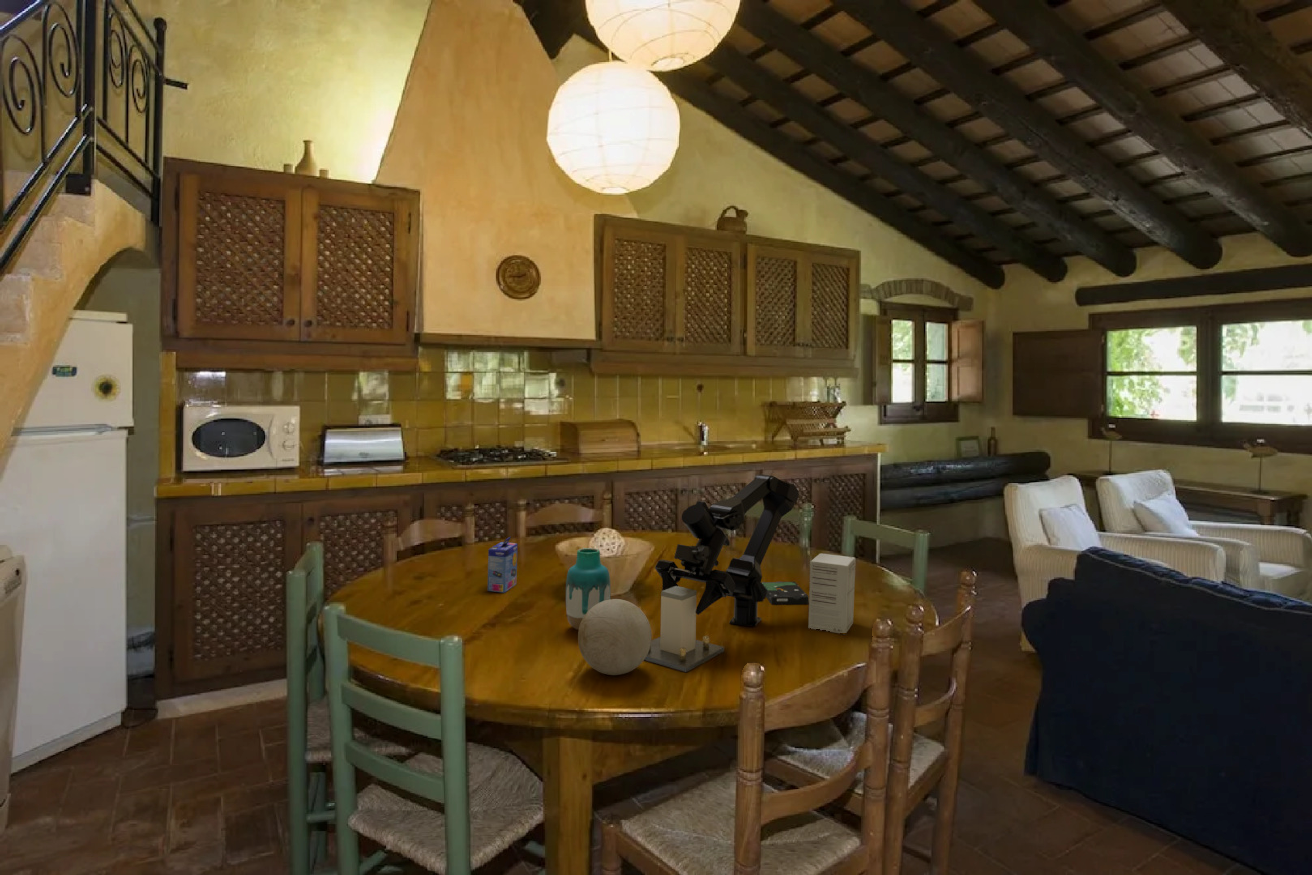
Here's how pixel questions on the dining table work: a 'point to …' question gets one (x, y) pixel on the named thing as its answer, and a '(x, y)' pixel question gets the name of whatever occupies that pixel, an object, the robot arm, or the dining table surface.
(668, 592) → the module box
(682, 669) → the plate
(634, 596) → the dining table surface
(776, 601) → the disk drive
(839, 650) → the dining table surface
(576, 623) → the vase
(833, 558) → the supplement box
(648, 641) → the decorative sphere
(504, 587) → the ink cartridge box
